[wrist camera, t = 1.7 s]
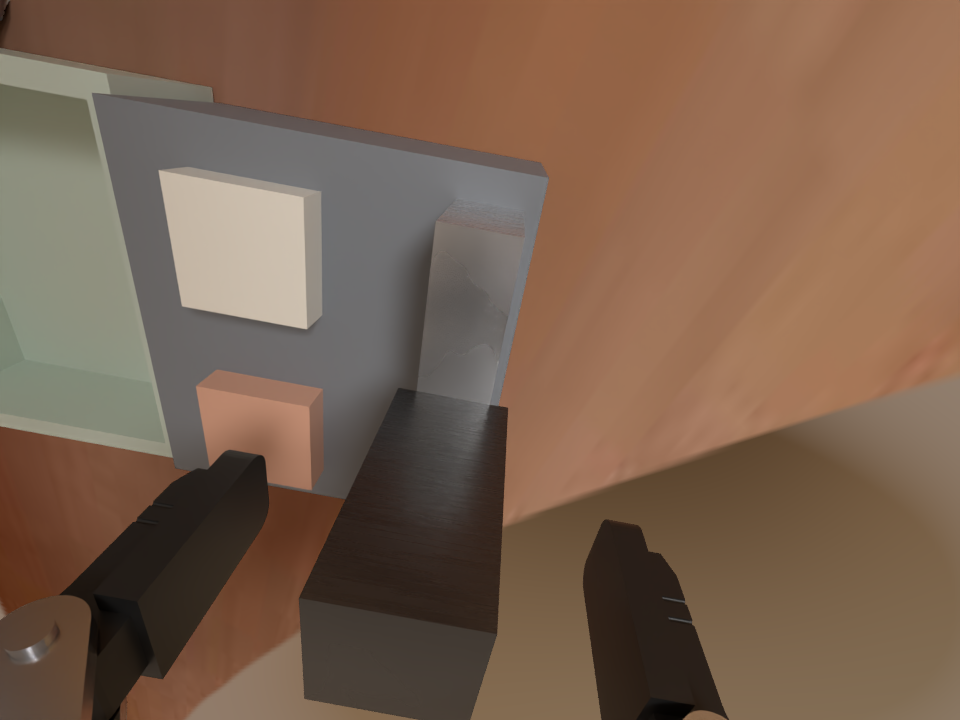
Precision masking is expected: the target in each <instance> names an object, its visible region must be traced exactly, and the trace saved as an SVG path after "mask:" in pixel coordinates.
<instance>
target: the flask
mask: <svg viewBox="0 0 960 720" xmlns="http://www.w3.org/2000/svg"><path fill="white" fill-rule="evenodd" d="M8 1H10V0H0V21H1V20H2V18H3V17H2V15H3V14H4V13H5V12H4V11H3V10H5V8H6V5H7V4H8Z"/></svg>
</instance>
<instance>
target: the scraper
mask: <svg viewBox="0 0 960 720" xmlns="http://www.w3.org/2000/svg"><path fill="white" fill-rule="evenodd" d="M524 239H525V229H524V211H520V210H514V209H509V208H503V207H498V206H493V205H487V204H482V203H477V202H471V201H466V200H460V199H456V200H455V201H454V202H453V203H452V204H451V205H450V206H449V207H448V208H447V210H446V211H445V212H444V213H443V214H442V215H441V216H440V217H439V218H438V219H437V221H436V223H435V232H434V241H433V250H432V259H431V268H430V277H429V286H428V295H427V303H426V312H425V321H424V330H423V339H422V348H421V357H420V366H419V375H418V384H417V391H414V390H408V389H403V388H398V390H397V392H396V394H395V396H394V398H393V400H392V402H391V404H390V407H389V409H388V411H387V413H386V415H385V417H384V419H383V421H382V423H381V426H380V428H379V430H378V432H377V434H376V436H375V438H374V440H373V443H372V445H371V447H370V449H369V451H368V453H367V455H366V457H365V459H364V462H363V464H362V466H361V468H360V470H359V472H358V474H357V476H356V478H355V481H354V483H353V485H352V487H351V489H350V491H349V493H348V495H347V498H346V500H345V502H344V504H343V506H342V508H341V510H340V512H339V514H338V517H337V519H336V521H335V523H334V525H333V527H332V529H331V531H330V533H329V536H328V538H327V540H326V542H325V544H324V546H323V548H322V550H321V553H320V555H319V557H318V559H317V561H316V563H315V565H314V567H313V569H312V572H311V574H310V576H309V578H308V580H307V582H306V584H305V586H304V588H303V591H302V593H301V595H300V597H299V608H300V626H301V644H302V661H303V678H304V679H303V680H304V698H305V699H309V700H314V701H319V702H325V703H330V704H336V705H341V706H347V707H352V708H357V709H363V710H368V711H374V712H379V713H385V714H390V715H396V716H401V717H407V718H413V719H418V720H470V718H471V715H472V712H473V709H474V706H475V702H476V700H477V696H478V693H479V690H480V687H481V684H482V680H483V677H484V674H485V671H486V668H487V665H488V662H489V658H490V655H491V652H492V648H493V646H494V643H495V639H496V636H497V624H498V605H499V585H500V564H501V543H502V542H501V541H502V522H503V501H504V480H505V459H506V438H507V417H508V408H506V407H500V406H495V405H490V401H491V396H492V391H493V387H494V382H495V377H496V372H497V368H498V363H499V358H500V353H501V349H502V344H503V339H504V334H505V330H506V325H507V320H508V315H509V311H510V306H511V301H512V296H513V292H514V287H515V282H516V277H517V273H518V268H519V263H520V258H521V254H522V249H523V244H524Z"/></svg>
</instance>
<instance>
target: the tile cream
mask: <svg viewBox="0 0 960 720" xmlns="http://www.w3.org/2000/svg"><path fill="white" fill-rule="evenodd" d="M158 171H159V177H160V182H161V188H162V194H163V200H164V205H165V211H166V217H167V223H168V229H169V234H170V240H171V246H172V252H173V257H174V263H175V269H176V275H177V281H178V286H179V292H180V298H181V304H182V306H183V307H188V308H194V309H199V310H205V311H210V312H215V313H221V314H226V315H232V316H237V317H242V318H248V319H253V320H259V321H264V322H269V323H275V324H280V325H286V326H291V327H297V328H302V329H308V328H309V327H310V326H311V325H312V324H313V323H314V322H316V321H317V320H318V319H319V318H320V317H321V316H322V227H321V191H315V190H310V189H305V188H299V187H294V186H288V185H283V184H278V183H272V182H267V181H262V180H256V179H251V178H245V177H240V176H235V175H229V174H224V173H219V172H213V171H208V170H202V169H197V168H192V167H182V168H174V169H165V170H158Z"/></svg>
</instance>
